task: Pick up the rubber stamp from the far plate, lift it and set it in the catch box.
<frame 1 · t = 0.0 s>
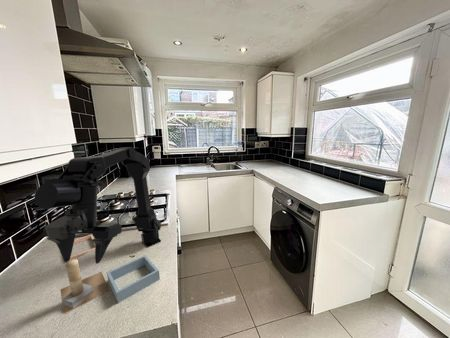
hand: (82, 262, 51), 15 cm above the countertop, fingers open, 9 cm apart
pink rectangular frame: (81, 248, 85), on the countertop
rubber stamp: (79, 298, 57), point 1 cm above the countertop, touching far plate
tape measure: (110, 235, 96), on the countertop
far plate: (85, 293, 60), on the countertop
catch box: (134, 283, 64), on the countertop
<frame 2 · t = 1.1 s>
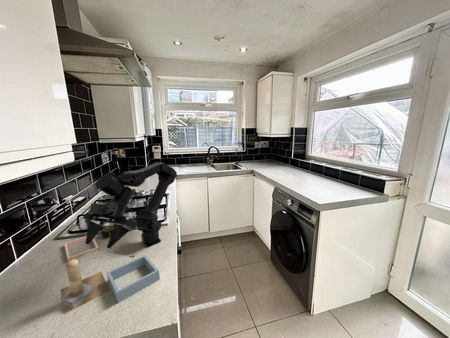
hand: (97, 246, 62), 13 cm above the countertop, fingers open, 9 cm apart
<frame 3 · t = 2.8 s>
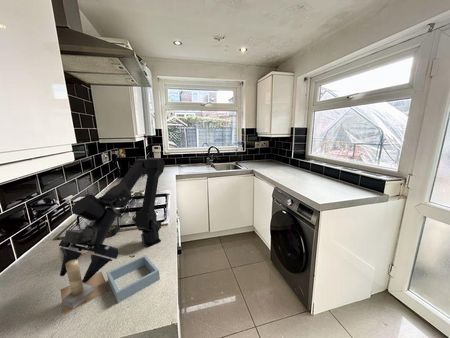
hand: (72, 279, 55), 8 cm above the countertop, fingers open, 9 cm apart
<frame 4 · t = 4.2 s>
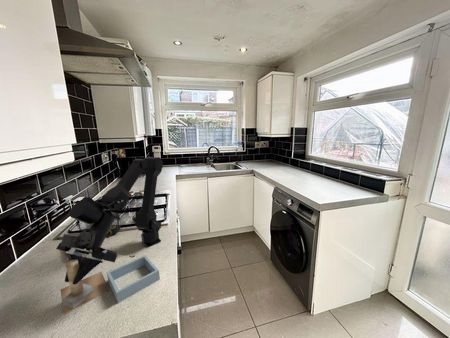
hand: (70, 283, 55), 8 cm above the countertop, fingers closed on rubber stamp, 3 cm apart
rubber stamp: (79, 298, 57), point 1 cm above the countertop, touching far plate, gripper
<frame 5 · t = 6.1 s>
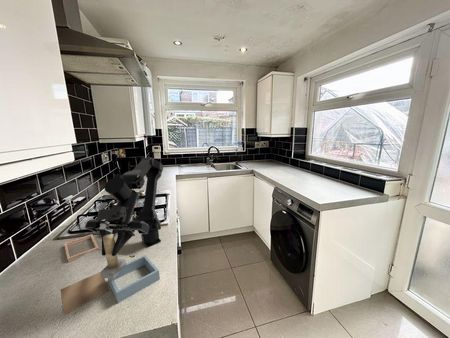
hand: (108, 255, 57), 13 cm above the countertop, fingers closed on rubber stamp, 3 cm apart
rubber stamp: (114, 270, 60), point 7 cm above the countertop, touching gripper
when the fingers open (8 cm above the countertop, at t = 8.3 s): rubber stamp drops 2 cm, resting on catch box.
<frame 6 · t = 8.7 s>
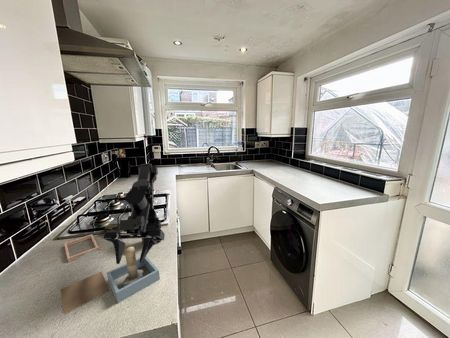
hand: (129, 263, 61), 9 cm above the countertop, fingers open, 7 cm apart
rubber stamp: (134, 281, 64), point 1 cm above the countertop, touching catch box
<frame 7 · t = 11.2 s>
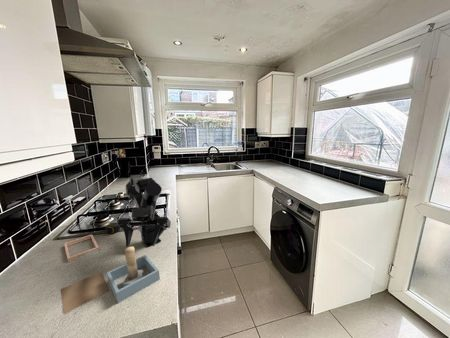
hand: (140, 246, 69), 9 cm above the countertop, fingers open, 9 cm apart
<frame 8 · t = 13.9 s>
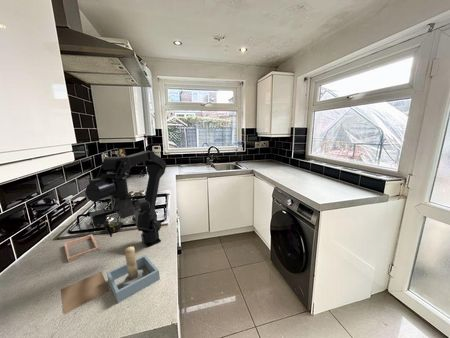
hand: (124, 231, 72), 13 cm above the countertop, fingers open, 9 cm apart
at the end: rubber stamp inside the target area on the catch box (0.1 cm from its centre), point 0.6 cm above the catch box's base; the gripper is holding nothing; rubber stamp tilted 0° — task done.
